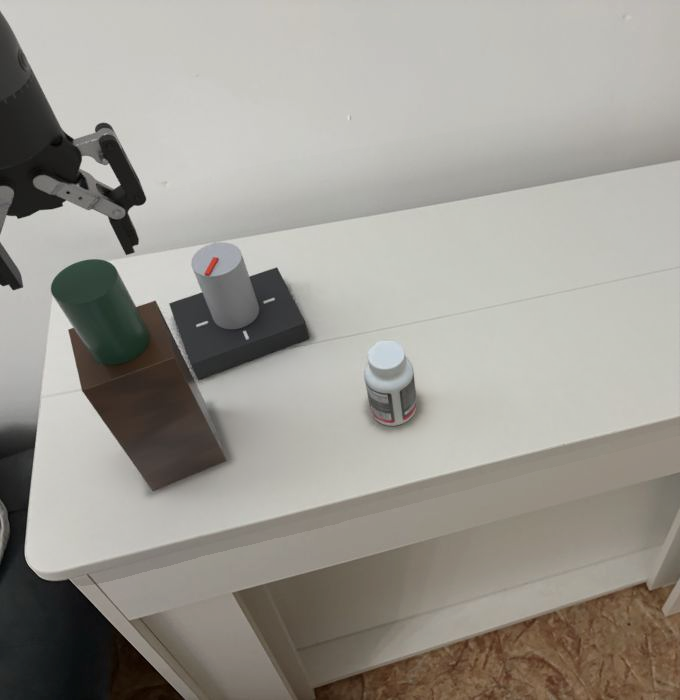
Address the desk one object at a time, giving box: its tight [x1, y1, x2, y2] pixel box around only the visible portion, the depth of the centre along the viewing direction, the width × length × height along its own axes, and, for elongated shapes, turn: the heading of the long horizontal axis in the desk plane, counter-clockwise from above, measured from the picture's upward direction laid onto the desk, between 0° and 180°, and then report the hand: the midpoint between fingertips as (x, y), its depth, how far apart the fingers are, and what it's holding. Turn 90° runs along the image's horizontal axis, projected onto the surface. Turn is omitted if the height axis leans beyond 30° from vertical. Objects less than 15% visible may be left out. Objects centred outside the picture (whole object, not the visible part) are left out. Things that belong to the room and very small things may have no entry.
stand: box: [67, 300, 227, 492], centre depth 71 cm, size 8×8×18 cm
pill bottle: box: [363, 339, 418, 427], centre depth 78 cm, size 5×5×10 cm
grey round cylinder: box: [190, 241, 259, 329], centre depth 84 cm, size 6×6×9 cm
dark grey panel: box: [168, 266, 310, 381], centre depth 88 cm, size 14×11×3 cm
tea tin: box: [50, 258, 150, 365], centre depth 61 cm, size 5×5×8 cm
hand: (74, 265), depth 57 cm, fingers open, 8 cm apart
